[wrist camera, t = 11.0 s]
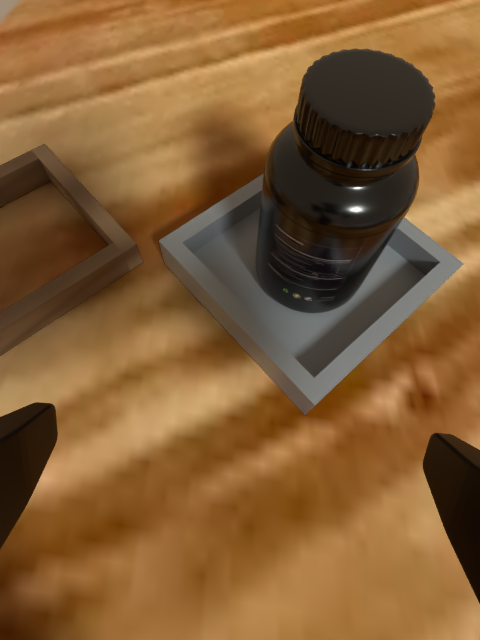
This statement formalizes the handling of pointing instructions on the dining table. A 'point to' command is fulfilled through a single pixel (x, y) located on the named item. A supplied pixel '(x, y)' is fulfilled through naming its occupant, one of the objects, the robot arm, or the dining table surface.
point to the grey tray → (289, 325)
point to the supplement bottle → (340, 177)
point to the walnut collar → (81, 279)
